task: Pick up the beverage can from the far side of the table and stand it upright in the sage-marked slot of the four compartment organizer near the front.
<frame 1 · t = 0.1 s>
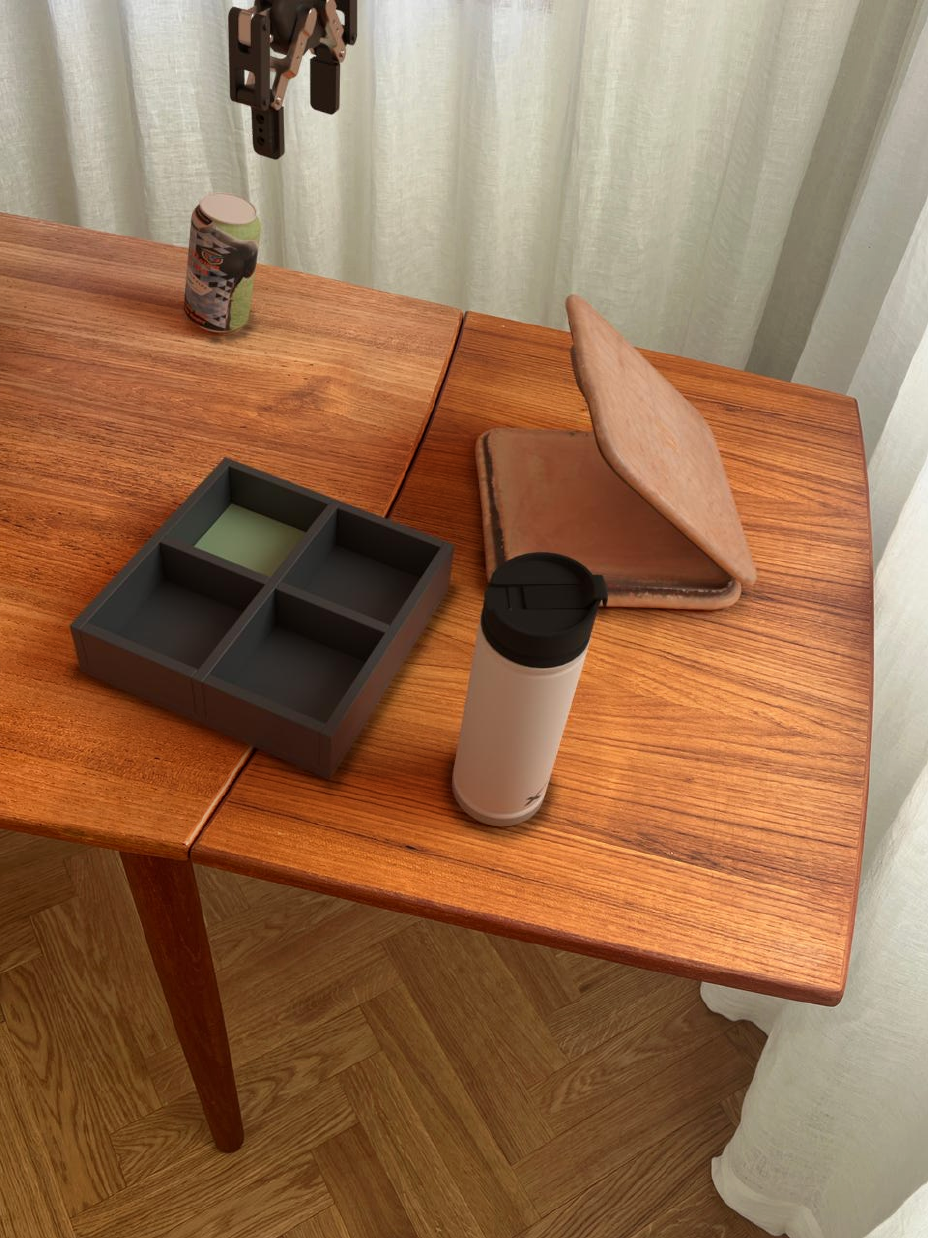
hand: (297, 132, 83), 23 cm above the table, tool pointing down, fingers open, 8 cm apart
travel mug: (500, 789, 74), on the table
four compartment organizer: (274, 628, 81), on the table
case: (603, 523, 92), on the table
beverage can: (225, 323, 105), on the table
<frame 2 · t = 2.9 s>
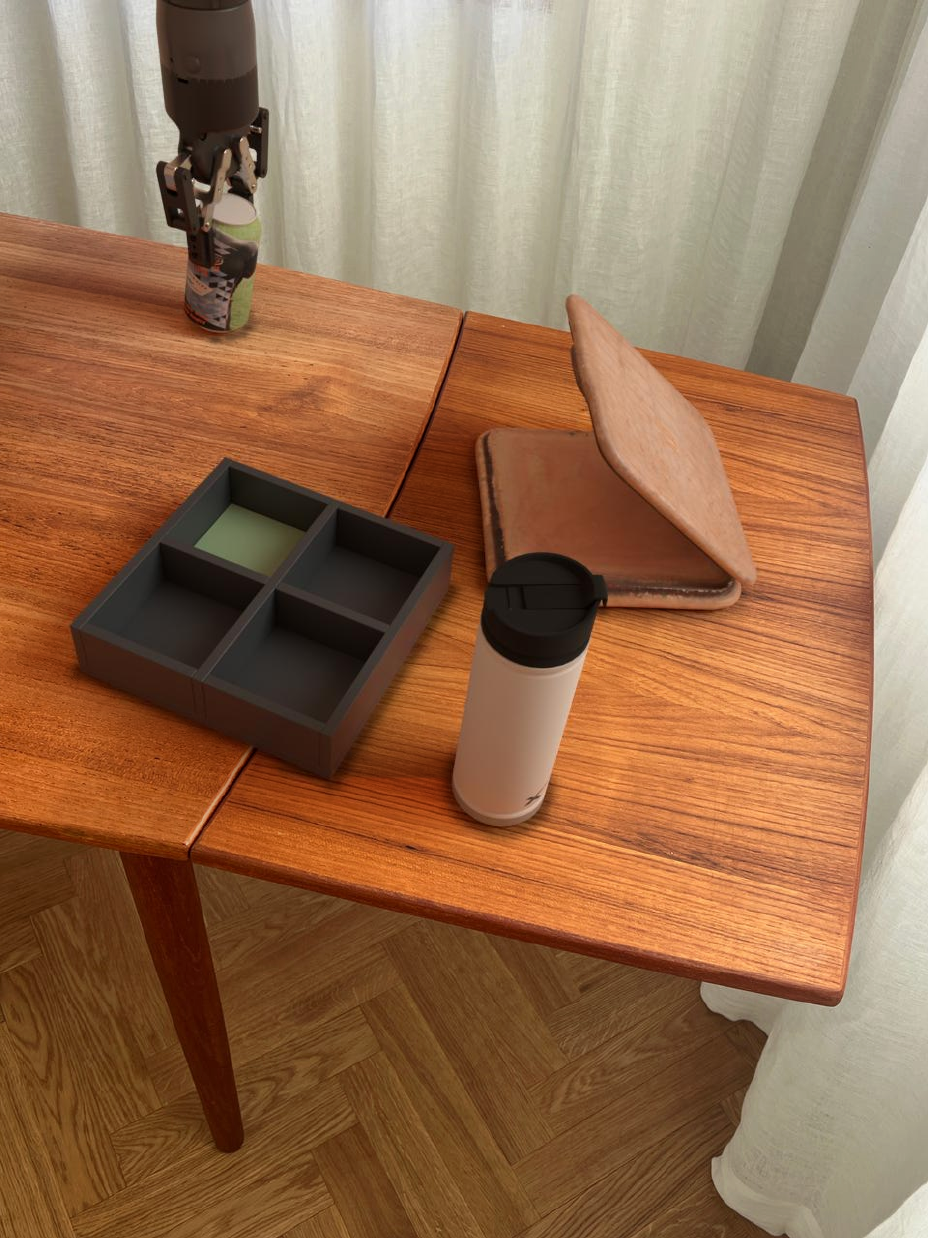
hand: (222, 246, 100), 8 cm above the table, tool pointing down, fingers closed on beverage can, 6 cm apart
beverage can: (225, 322, 105), on the table, touching gripper
everything else where it was.
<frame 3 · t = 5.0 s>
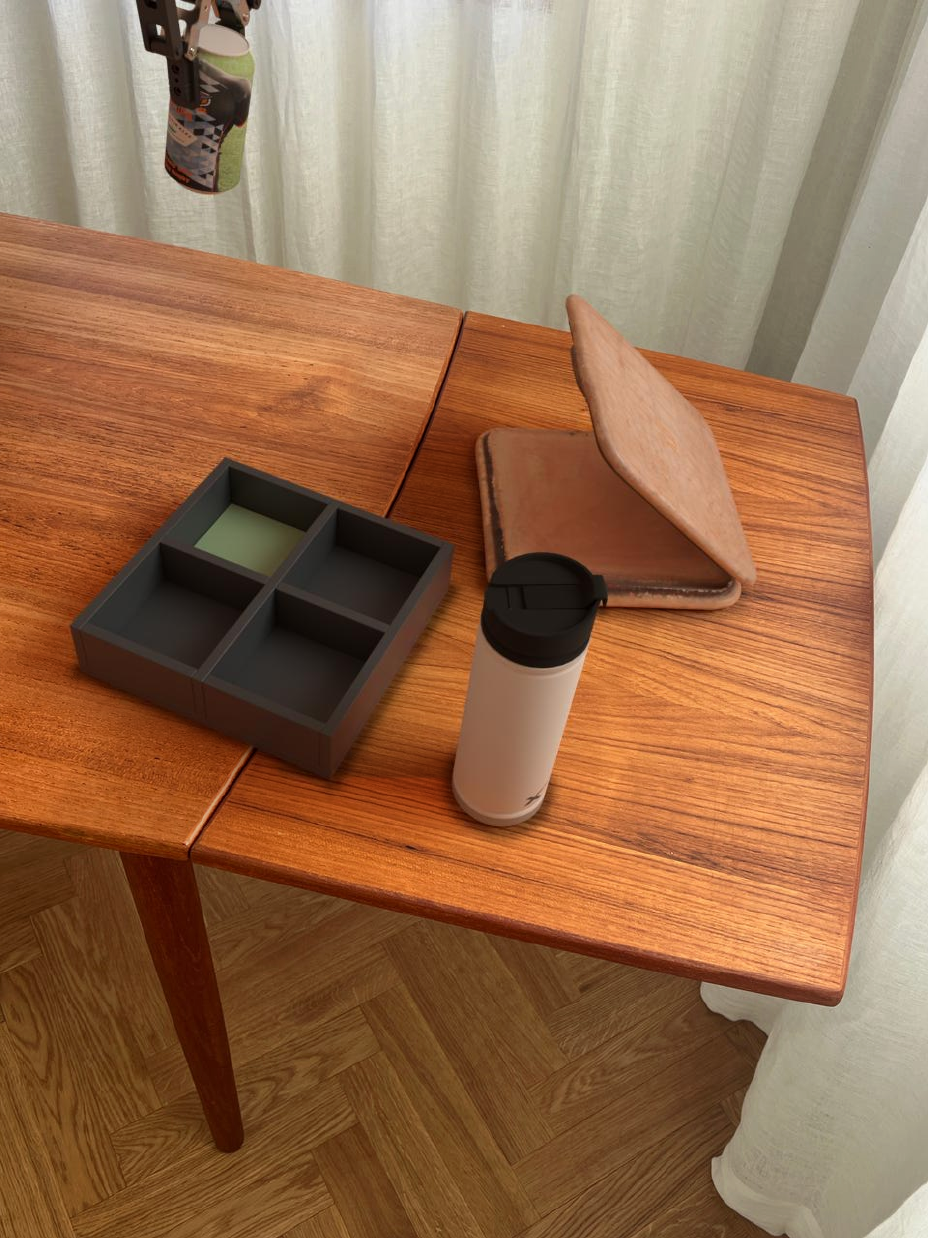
hand: (209, 88, 86), 23 cm above the table, tool pointing down, fingers closed on beverage can, 6 cm apart
beverage can: (212, 186, 92), point 15 cm above the table, touching gripper
everything else where it was.
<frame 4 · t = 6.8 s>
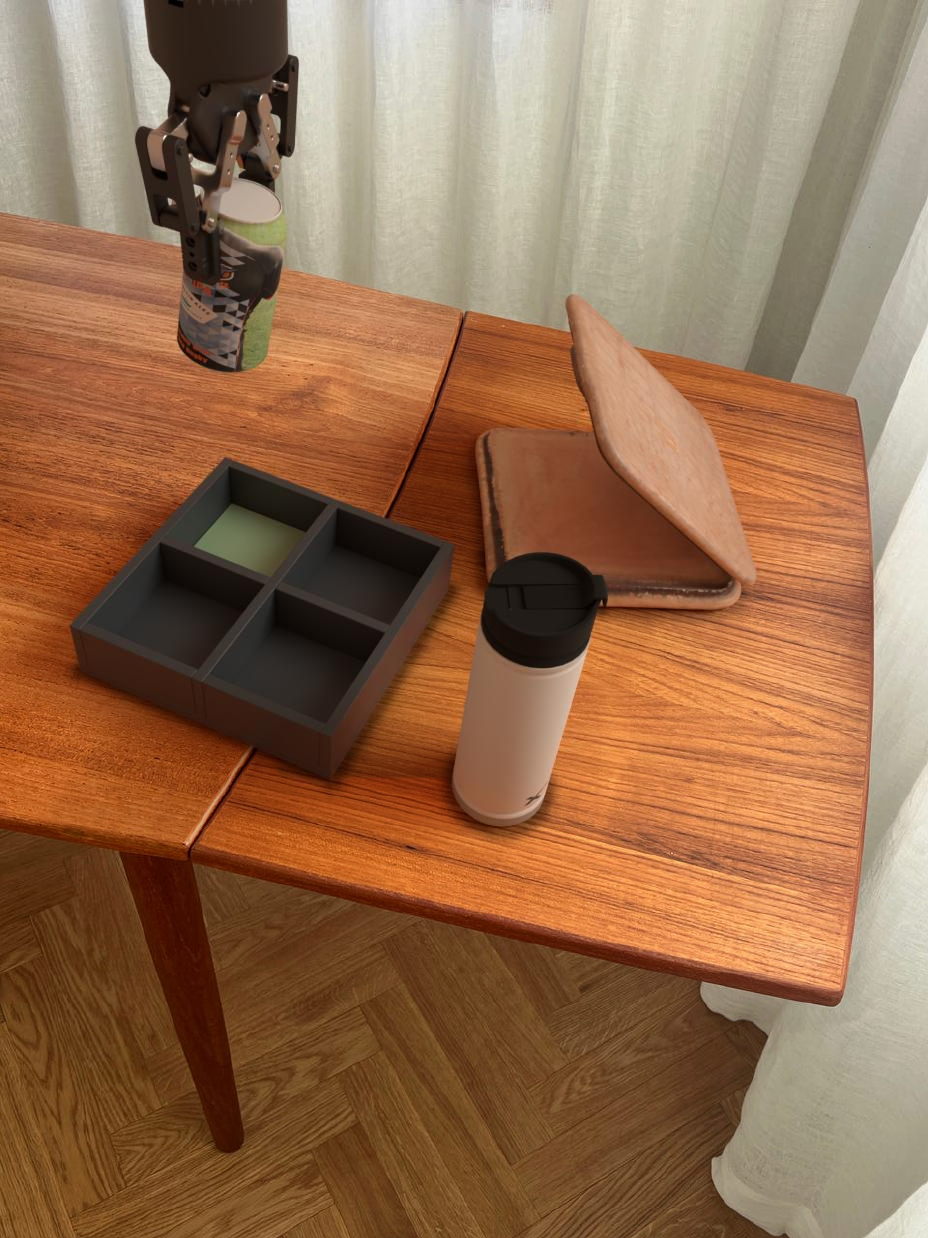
hand: (231, 253, 70), 24 cm above the table, tool pointing down, fingers closed on beverage can, 6 cm apart
beverage can: (234, 359, 76), point 16 cm above the table, touching gripper
everything else where it was.
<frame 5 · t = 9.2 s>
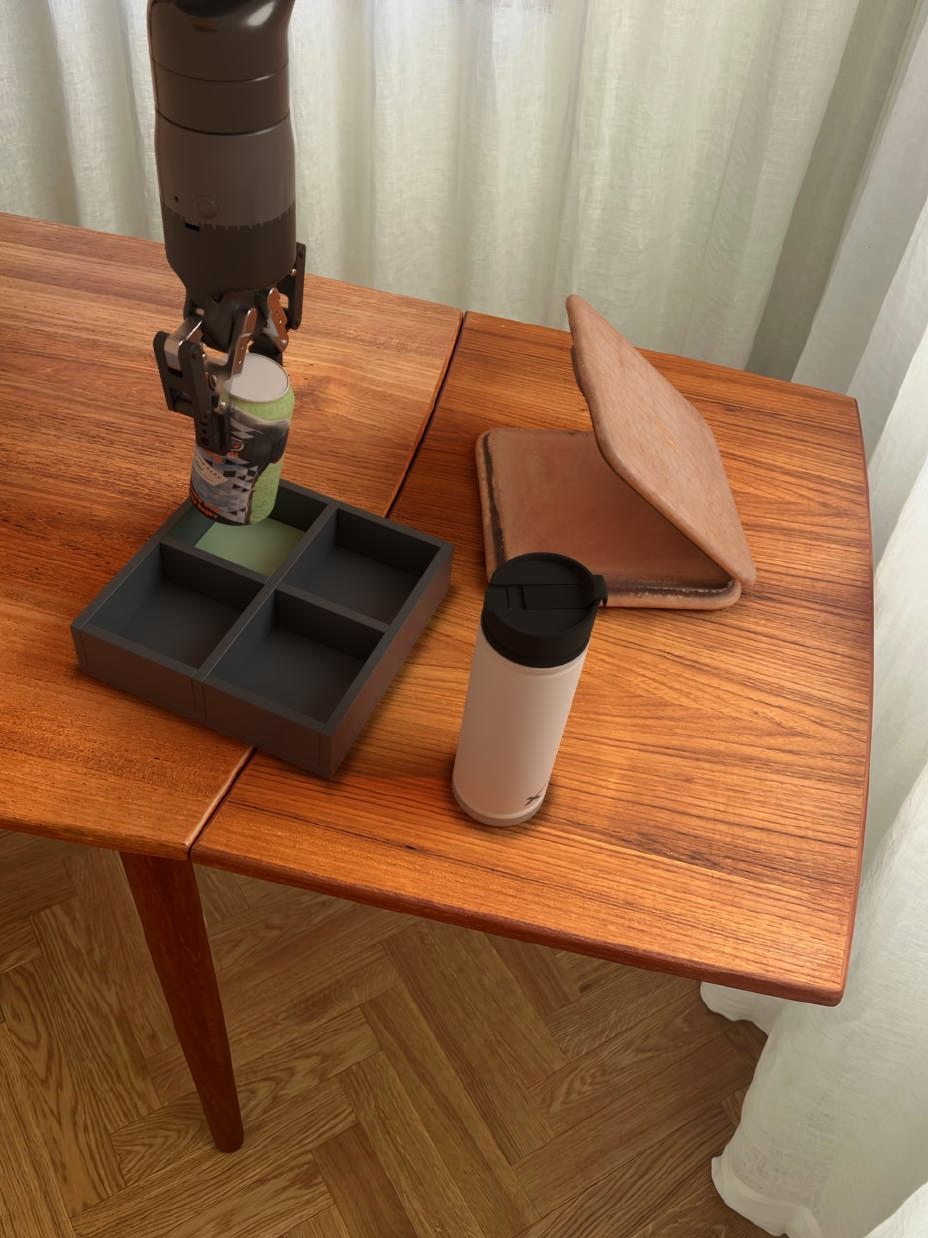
hand: (241, 420, 75), 14 cm above the table, tool pointing down, fingers closed on beverage can, 6 cm apart
beverage can: (243, 508, 80), point 6 cm above the table, touching gripper
everything else where it was.
when the fingers open (9 cm above the table, at t = 11.0 s): beverage can stays where it is, resting on four compartment organizer.
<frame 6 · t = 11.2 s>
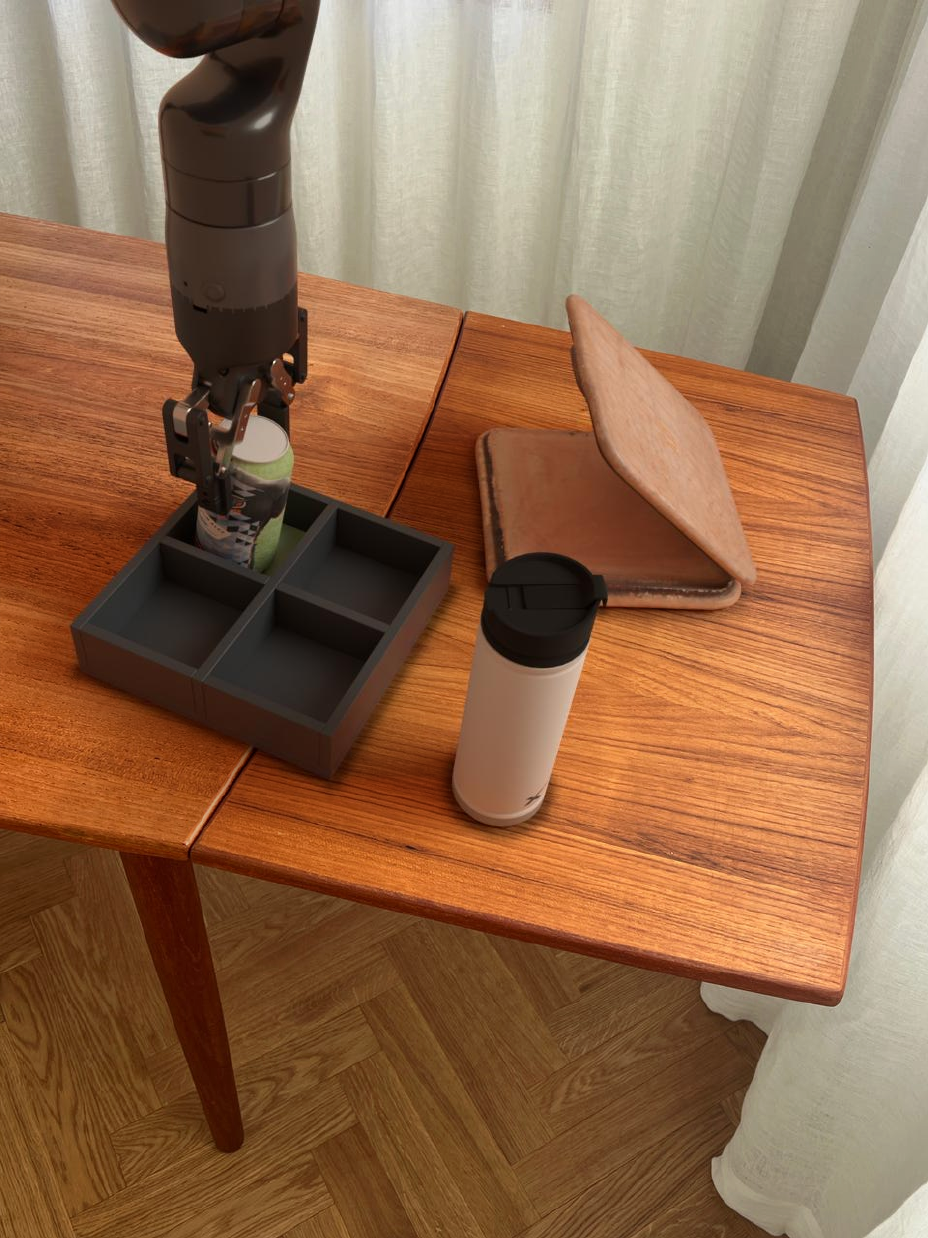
hand: (246, 475, 78), 9 cm above the table, tool pointing down, fingers open, 7 cm apart
beverage can: (246, 558, 84), point 1 cm above the table, touching four compartment organizer
everything else where it was.
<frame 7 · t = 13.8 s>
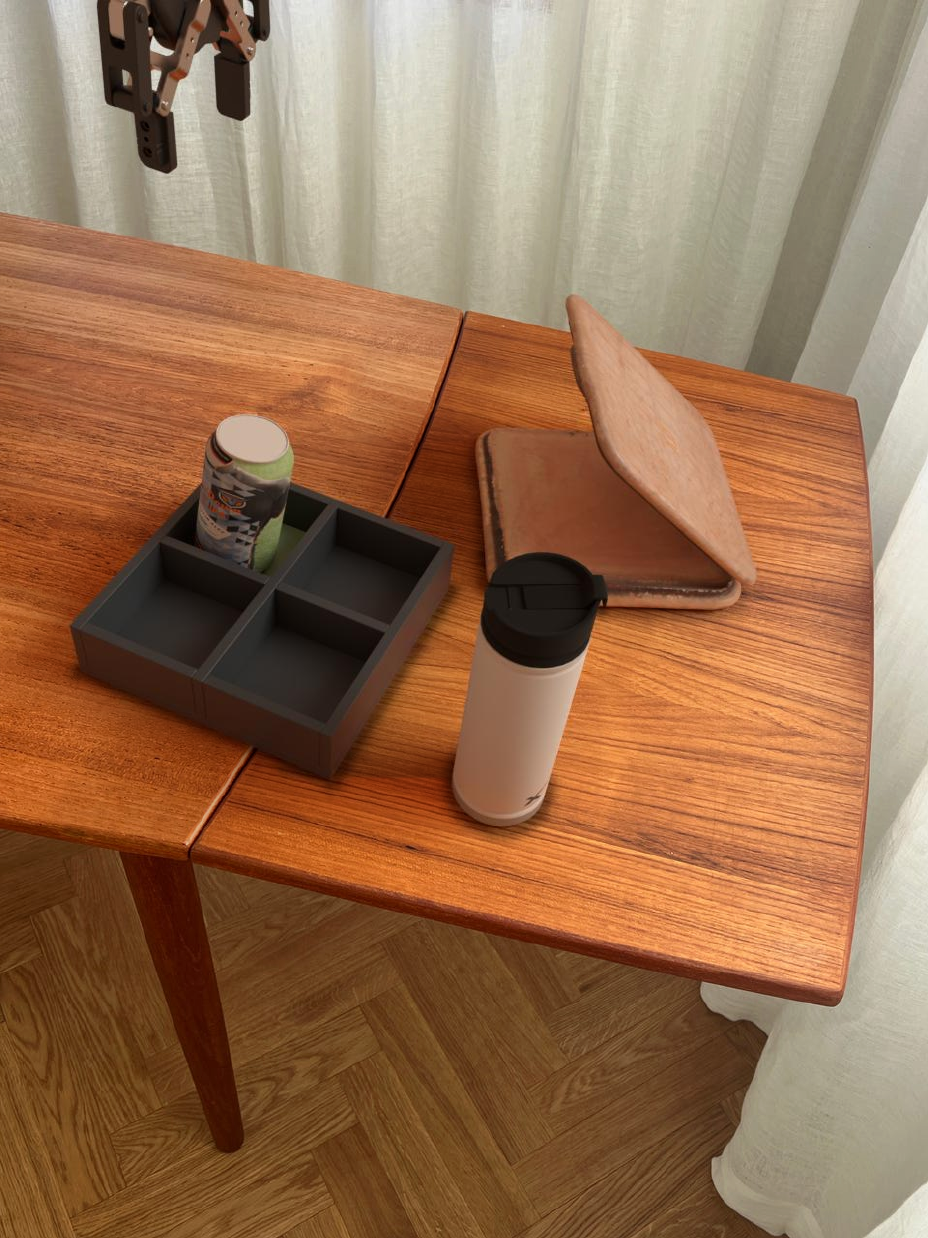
hand: (197, 141, 72), 27 cm above the table, tool pointing down, fingers open, 8 cm apart
nothing on the table moved.
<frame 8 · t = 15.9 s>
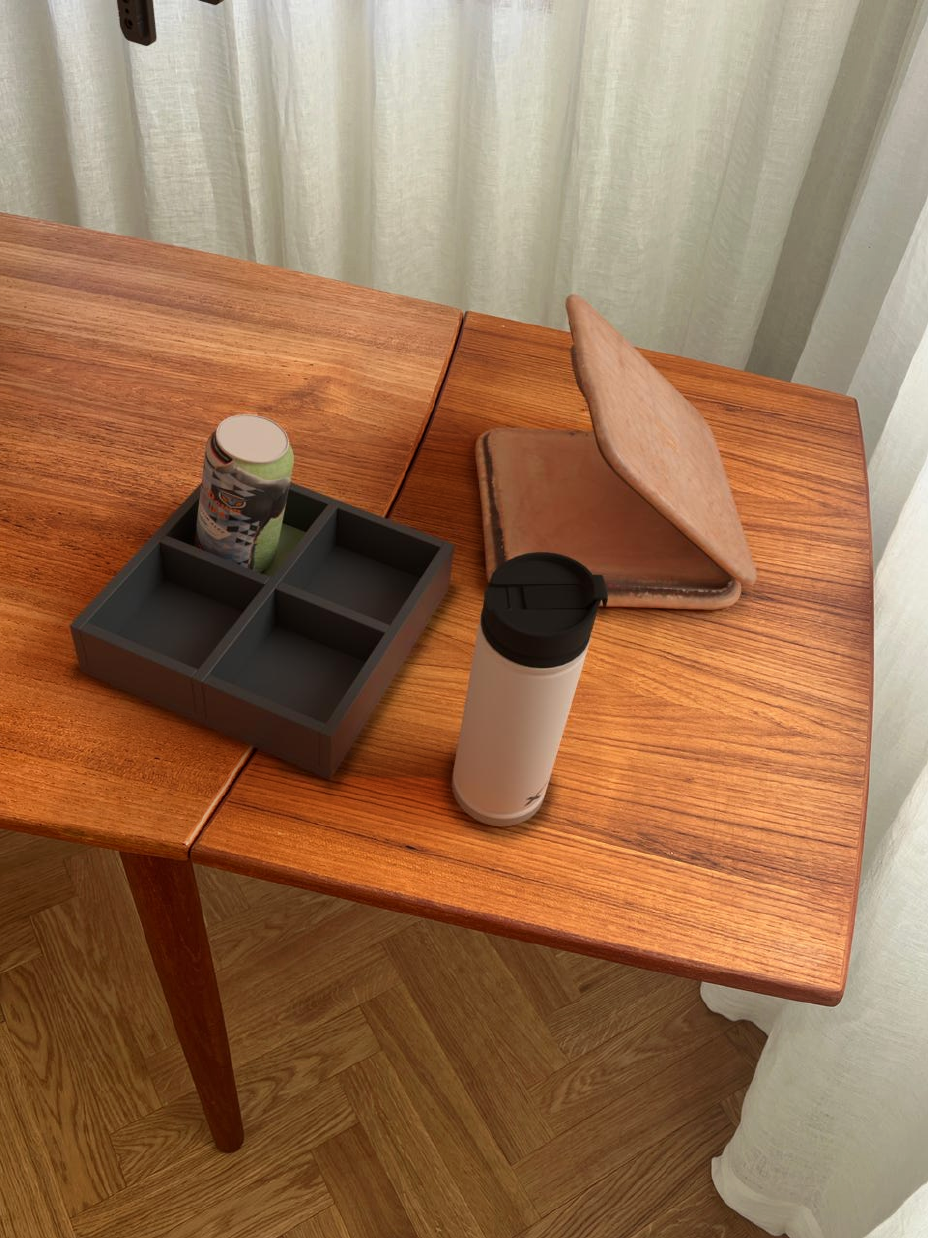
hand: (175, 20, 77), 30 cm above the table, tool pointing down, fingers open, 8 cm apart
nothing on the table moved.
at the end: beverage can 0.4 cm from the target spot in the four compartment organizer, point 1.0 cm above the four compartment organizer's base; beverage can tilted 0°; the gripper is holding nothing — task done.
